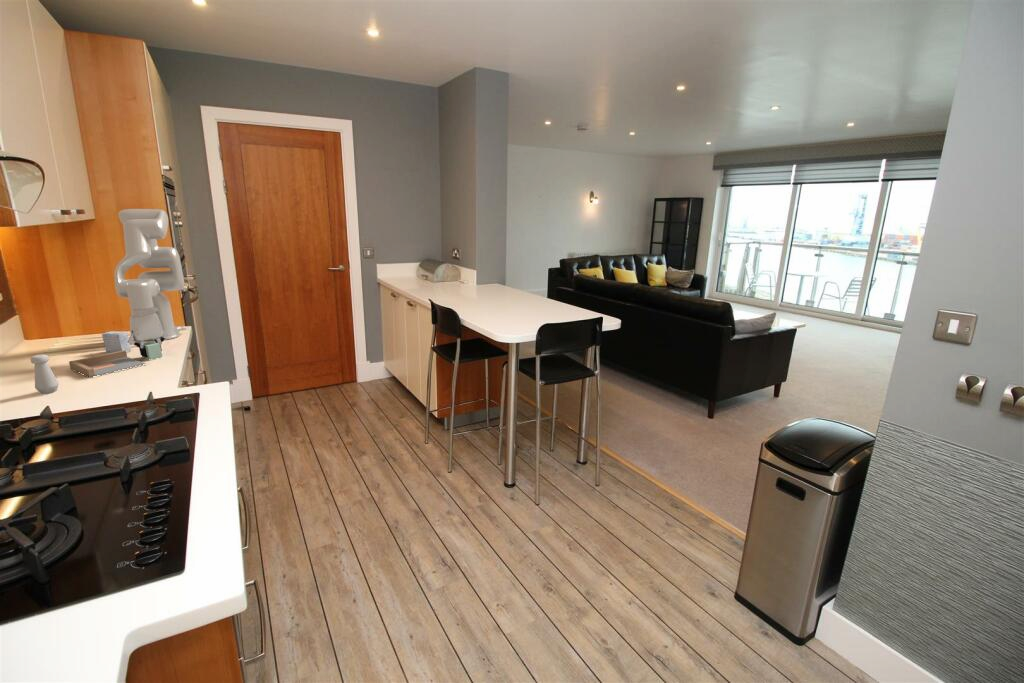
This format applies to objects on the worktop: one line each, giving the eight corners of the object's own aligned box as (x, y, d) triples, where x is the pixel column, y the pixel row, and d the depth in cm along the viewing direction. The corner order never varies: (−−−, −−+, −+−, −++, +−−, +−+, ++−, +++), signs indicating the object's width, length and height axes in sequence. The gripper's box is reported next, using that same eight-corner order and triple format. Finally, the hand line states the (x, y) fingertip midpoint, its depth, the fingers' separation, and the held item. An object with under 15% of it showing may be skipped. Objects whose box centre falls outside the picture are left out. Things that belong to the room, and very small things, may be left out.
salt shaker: (53, 387, 169) (44, 352, 165) (63, 390, 167) (54, 353, 163) (32, 393, 163) (22, 356, 160) (42, 396, 161) (32, 358, 158)
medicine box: (131, 350, 211) (127, 331, 209) (122, 353, 207) (118, 334, 205) (115, 350, 212) (110, 331, 210) (105, 353, 208) (101, 333, 206)
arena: (125, 357, 202) (124, 350, 201) (146, 365, 193) (144, 357, 192) (70, 369, 187) (68, 361, 186) (89, 378, 178) (87, 369, 177)
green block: (154, 354, 206) (151, 341, 204) (162, 357, 202) (159, 343, 201) (142, 357, 202) (139, 343, 201) (150, 360, 199) (147, 346, 197)
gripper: (161, 307, 206) (169, 348, 211) (114, 314, 192) (123, 358, 197) (170, 309, 202) (178, 351, 207) (122, 317, 188) (132, 361, 193)
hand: (151, 354), depth 202 cm, fingers closed on green block, 4 cm apart
